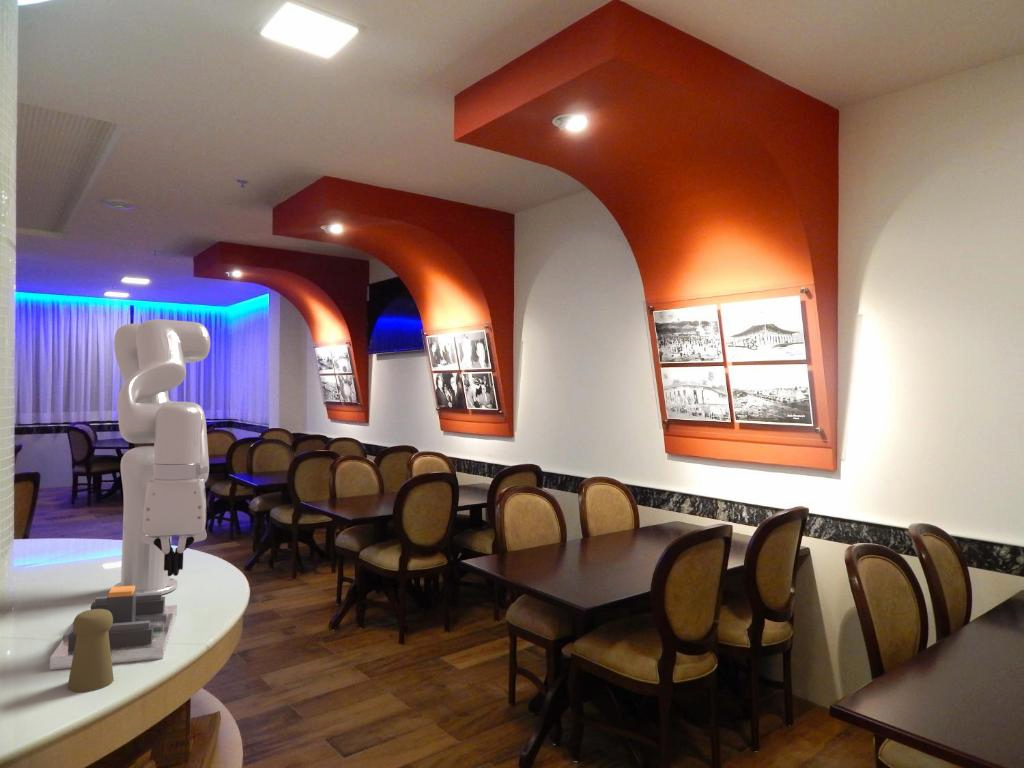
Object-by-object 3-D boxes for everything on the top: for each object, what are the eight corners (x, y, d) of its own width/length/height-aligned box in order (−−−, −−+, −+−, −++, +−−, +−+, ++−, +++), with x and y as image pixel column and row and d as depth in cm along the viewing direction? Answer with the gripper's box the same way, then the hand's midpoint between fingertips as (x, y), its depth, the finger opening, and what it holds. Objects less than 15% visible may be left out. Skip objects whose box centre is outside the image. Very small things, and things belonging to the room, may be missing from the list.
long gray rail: (93, 614, 126) (93, 596, 126) (164, 608, 130) (165, 591, 130) (67, 651, 109) (68, 630, 109) (151, 643, 113) (151, 623, 113)
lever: (109, 624, 121) (111, 586, 121) (135, 622, 122) (136, 585, 122) (105, 632, 117) (106, 593, 117) (131, 630, 118) (132, 591, 118)
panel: (82, 622, 127) (83, 608, 127) (176, 615, 133) (177, 601, 133) (49, 669, 106) (50, 652, 106) (162, 658, 112) (163, 641, 112)
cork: (91, 694, 99) (94, 619, 99) (57, 689, 100) (59, 615, 100) (123, 677, 105) (125, 607, 105) (90, 672, 106) (92, 603, 106)
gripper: (222, 470, 128) (219, 566, 128) (133, 471, 123) (130, 572, 123) (220, 474, 121) (217, 576, 121) (126, 476, 116) (122, 582, 116)
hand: (173, 573), depth 122 cm, fingers closed
